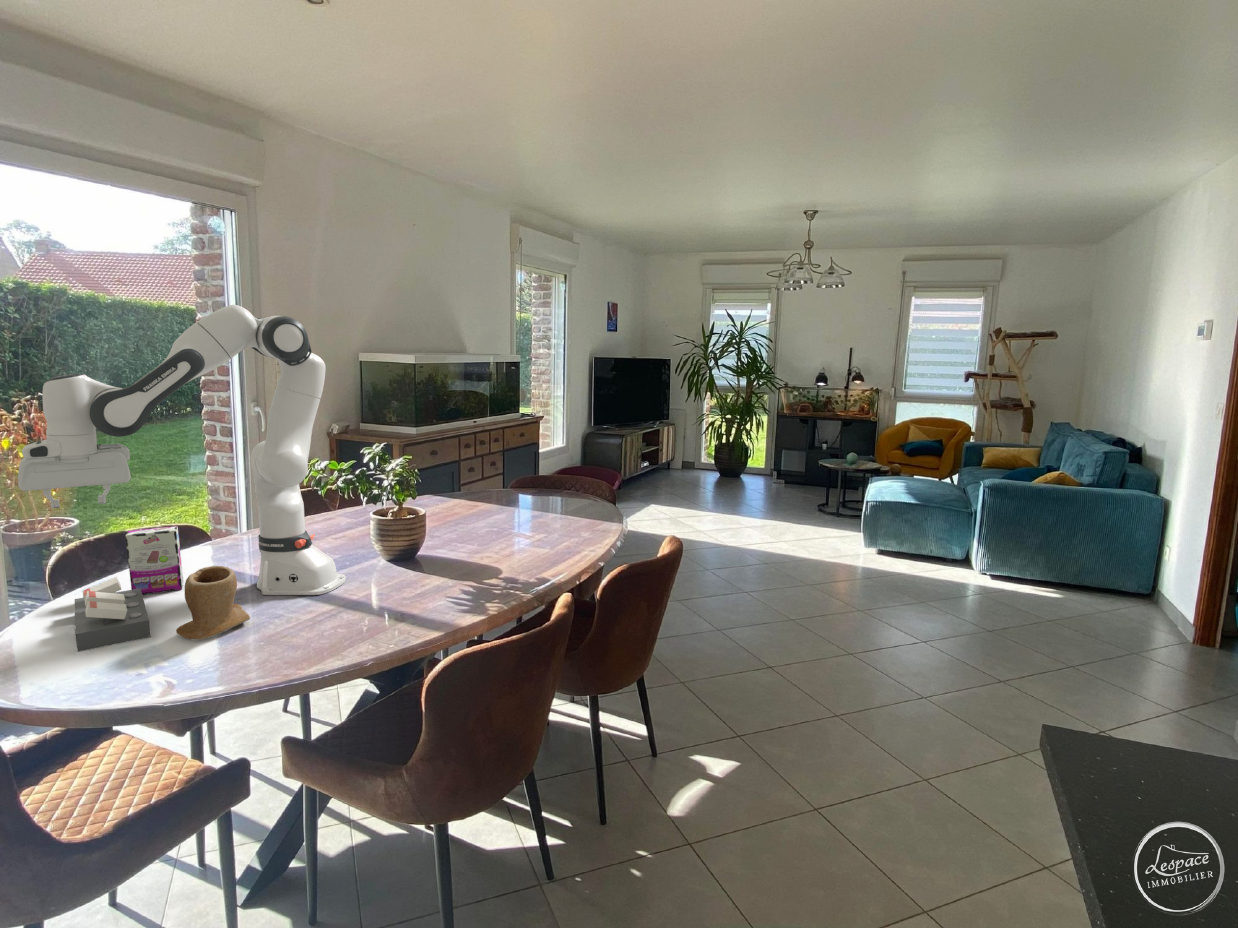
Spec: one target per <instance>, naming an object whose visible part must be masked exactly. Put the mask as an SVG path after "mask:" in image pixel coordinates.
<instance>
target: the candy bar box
mask: <svg viewBox="0 0 1238 928" xmlns="http://www.w3.org/2000/svg"><path fill="white" fill-rule="evenodd" d="M124 538H125V548H126V553H127V561H128V562H127V563H128V570H129V571H128V573H129V578H130V579H129V580H130V588H131V589H130V590H133V589H139V588H141V592H142V595H143V596H144V595H151V594H157V593H160V594H161V593H167V592H174V591H181V590H183V586H184V585H185V582H184V575H183V573H184V572H183V565H182V556H181V555H182V554H181V549H180V548H181V546H180V537H179V528H178V526H177V525H174V526H166V527H165V526H163V527H154V528H145V529H135V530H134V529H133V530H128V531H127V533H126V534H125V537H124Z"/></svg>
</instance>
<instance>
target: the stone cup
mask: <svg viewBox="0 0 1238 928" xmlns="http://www.w3.org/2000/svg"><path fill="white" fill-rule="evenodd" d="M237 587H238V581H237V576H236V572H234V570H233V569H232V568H230V567H228V566H224V565H211V566H205V567H202V568H199V569H198V570H196V571H195V572H193V573H191V574H189V575H188V577H187V578H186V580H185V582H184V599H185V603H186V605H187V608H188V610H189V611H190V614H191V618H192V619H191V620H190V621H188V622H186V623H184V624H182V625H180V626H178V627H177V628H176V630H175V632H176V634H177V635H178V636H179V637H181V638H183V639H187V640H195V641H196V640H199V641H201V640H205V639H208V638H209V639H210V638H211V637H215V636H217V635H220V634H222V633H224V632H226V631H229V630H230V629H233V628H234V627H237V626H239V625H240V624H243V623H245V622H247V621H249V620H250V619H251V616H250V614H249V613H247V611H245V609H243V607H242V605H240V604H238V603H234V601H235V597H236V594H237V593H236V592H237V589H238V588H237Z"/></svg>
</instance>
